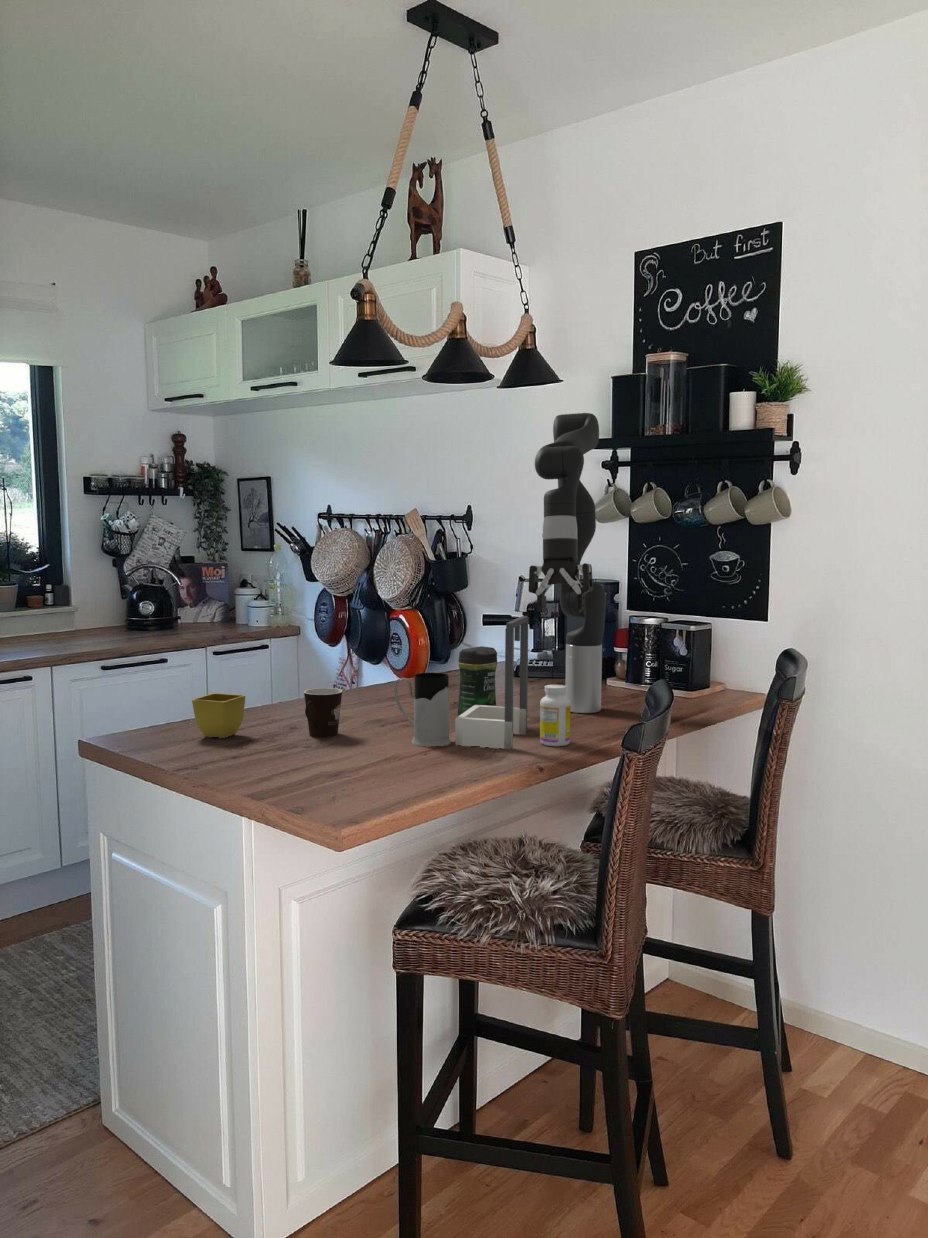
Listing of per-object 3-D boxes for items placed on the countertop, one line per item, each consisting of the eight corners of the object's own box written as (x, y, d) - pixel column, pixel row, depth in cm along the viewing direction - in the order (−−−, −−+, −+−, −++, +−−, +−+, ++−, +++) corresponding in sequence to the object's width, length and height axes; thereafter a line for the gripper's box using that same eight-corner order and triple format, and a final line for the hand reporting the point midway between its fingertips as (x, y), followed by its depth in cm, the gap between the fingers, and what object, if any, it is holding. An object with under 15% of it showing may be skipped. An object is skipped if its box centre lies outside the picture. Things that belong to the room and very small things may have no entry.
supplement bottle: (562, 739, 217) (563, 682, 216) (575, 746, 211) (576, 688, 210) (535, 741, 215) (535, 684, 214) (546, 748, 209) (547, 689, 208)
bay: (474, 730, 226) (475, 614, 224) (527, 733, 223) (528, 616, 220) (455, 745, 211) (455, 621, 208) (511, 749, 208) (512, 623, 205)
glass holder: (437, 748, 208) (437, 679, 206) (383, 740, 215) (383, 674, 214) (458, 741, 215) (459, 674, 214) (406, 733, 223) (406, 668, 221)
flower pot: (191, 738, 217) (190, 699, 216) (214, 730, 225) (213, 692, 224) (225, 742, 214) (224, 701, 213) (247, 733, 222) (246, 695, 221)
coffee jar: (477, 728, 228) (478, 650, 226) (452, 723, 233) (452, 647, 231) (502, 722, 236) (503, 646, 234) (477, 717, 241) (477, 643, 239)
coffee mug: (327, 728, 227) (327, 686, 226) (350, 734, 221) (349, 691, 220) (285, 736, 219) (285, 692, 218) (308, 742, 213) (307, 698, 212)
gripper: (597, 537, 211) (597, 612, 211) (537, 540, 218) (538, 612, 218) (584, 535, 204) (584, 611, 204) (523, 538, 211) (523, 612, 211)
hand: (560, 612), depth 211 cm, fingers open, 8 cm apart
